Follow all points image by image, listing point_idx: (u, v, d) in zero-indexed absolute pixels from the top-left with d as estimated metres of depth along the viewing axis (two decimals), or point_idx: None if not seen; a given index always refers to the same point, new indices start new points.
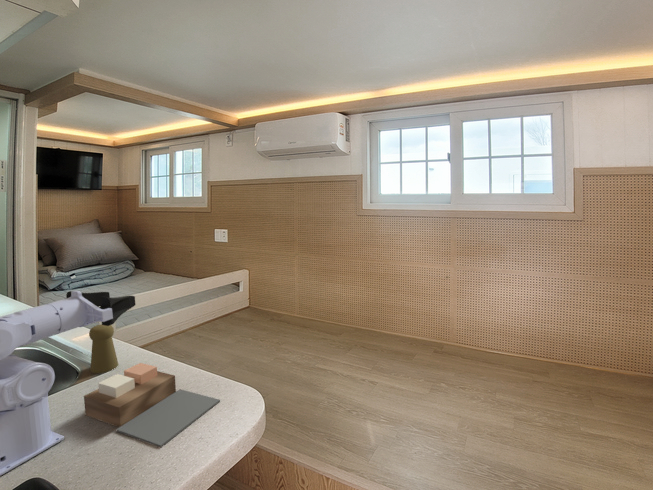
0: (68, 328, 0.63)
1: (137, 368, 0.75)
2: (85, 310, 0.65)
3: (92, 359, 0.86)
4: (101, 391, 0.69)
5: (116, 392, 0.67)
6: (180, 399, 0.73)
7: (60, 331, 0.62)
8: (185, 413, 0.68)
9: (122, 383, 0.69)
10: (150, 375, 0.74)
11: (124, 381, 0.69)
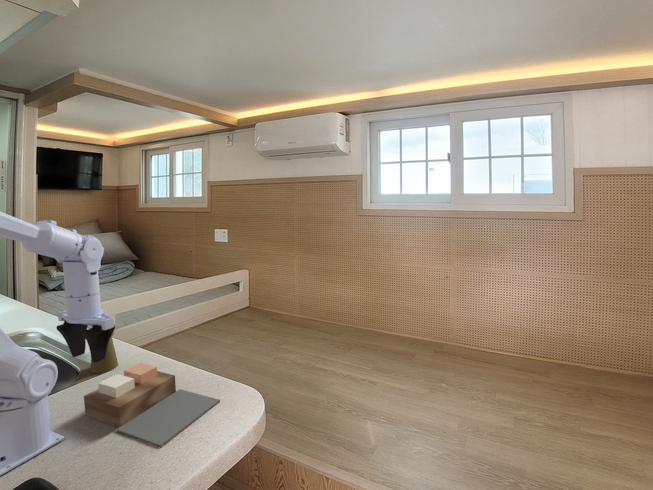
0: (80, 304, 0.69)
1: (137, 368, 0.75)
2: (97, 315, 0.71)
3: None
4: (101, 391, 0.69)
5: (116, 392, 0.67)
6: (180, 399, 0.73)
7: (79, 298, 0.68)
8: (185, 413, 0.68)
9: (122, 383, 0.69)
10: (150, 375, 0.74)
11: (124, 381, 0.69)
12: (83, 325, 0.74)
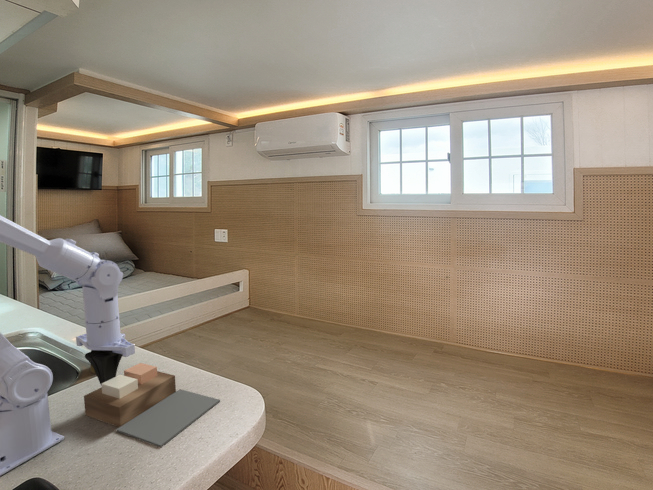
0: (100, 330, 0.67)
1: (137, 368, 0.75)
2: (117, 340, 0.70)
3: None
4: (104, 392, 0.69)
5: (119, 392, 0.67)
6: (180, 399, 0.73)
7: (99, 324, 0.67)
8: (185, 413, 0.68)
9: (126, 383, 0.69)
10: (150, 375, 0.74)
11: (128, 382, 0.69)
12: None
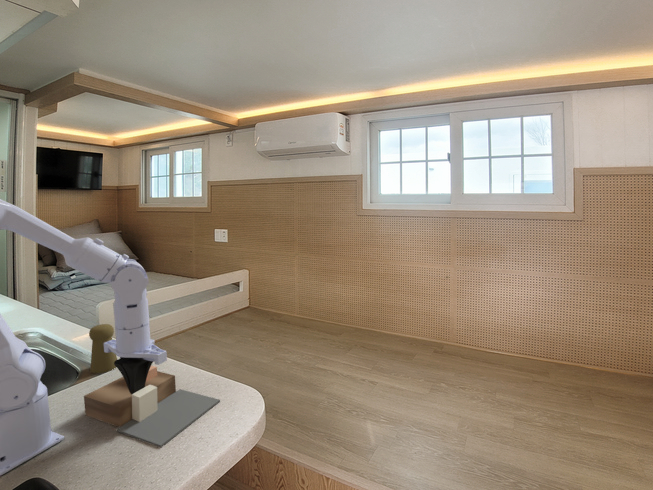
0: (131, 337, 0.64)
1: None
2: (147, 347, 0.66)
3: (92, 359, 0.86)
4: (133, 398, 0.66)
5: None
6: (180, 399, 0.73)
7: (130, 330, 0.64)
8: (185, 413, 0.68)
9: (148, 414, 0.67)
10: (150, 375, 0.74)
11: (150, 412, 0.68)
12: None
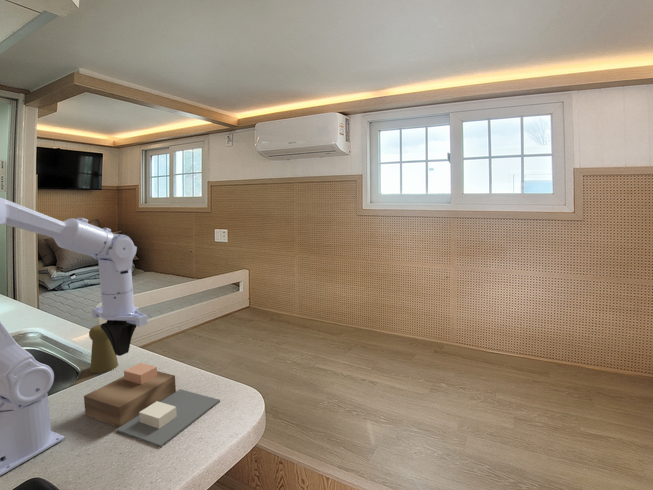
0: (115, 301, 0.70)
1: (137, 368, 0.75)
2: (130, 312, 0.73)
3: (92, 359, 0.86)
4: (155, 419, 0.64)
5: None
6: (180, 399, 0.73)
7: (114, 295, 0.70)
8: (185, 413, 0.68)
9: None
10: (150, 375, 0.74)
11: None
12: None
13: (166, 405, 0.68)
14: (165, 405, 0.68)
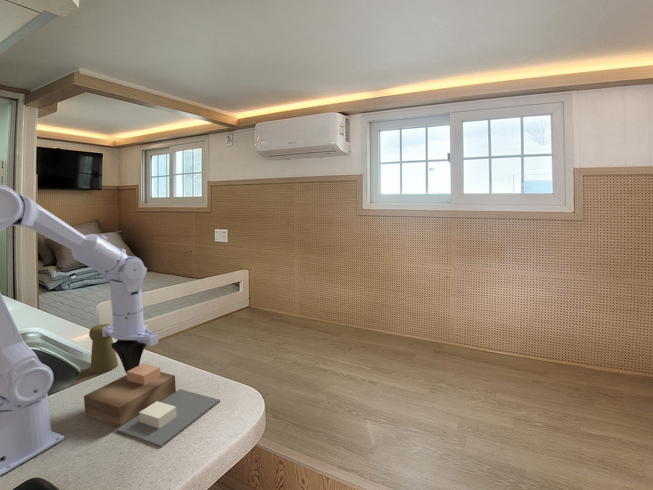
0: (127, 321, 0.72)
1: (140, 369, 0.75)
2: (141, 331, 0.75)
3: (92, 359, 0.86)
4: (155, 419, 0.64)
5: None
6: (180, 399, 0.73)
7: (125, 316, 0.72)
8: (185, 413, 0.68)
9: None
10: (153, 376, 0.74)
11: None
12: None
13: (166, 405, 0.68)
14: (165, 405, 0.68)
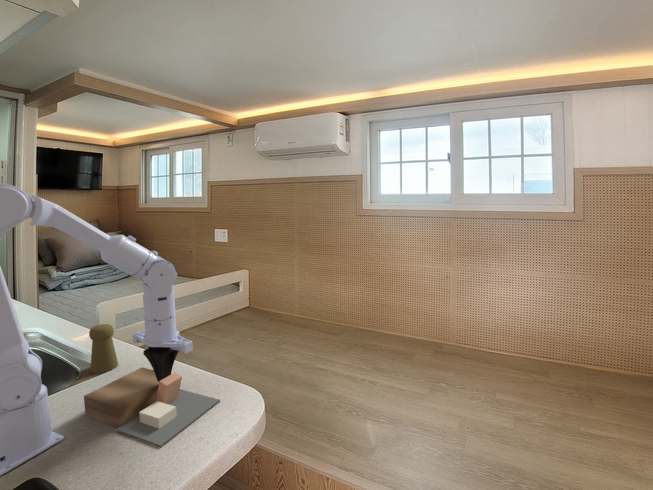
0: (160, 328, 0.69)
1: (171, 390, 0.72)
2: (174, 337, 0.71)
3: (92, 359, 0.86)
4: (155, 419, 0.64)
5: None
6: (180, 399, 0.73)
7: (159, 321, 0.68)
8: (185, 413, 0.68)
9: None
10: None
11: None
12: None
13: (166, 405, 0.68)
14: (165, 405, 0.68)
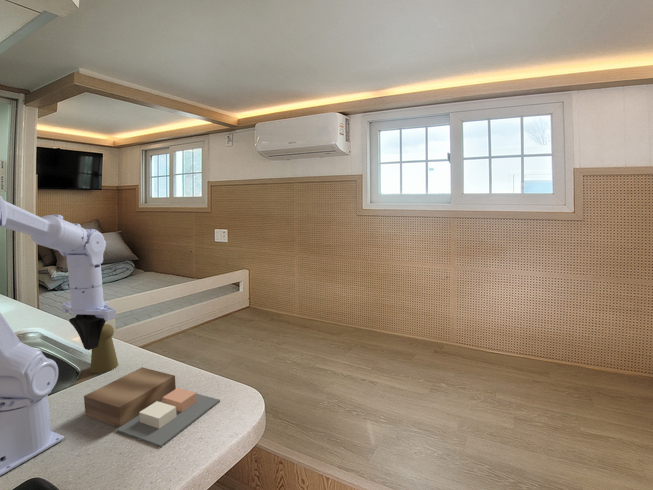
0: (84, 296, 0.71)
1: None
2: (99, 306, 0.74)
3: (92, 359, 0.86)
4: (155, 419, 0.64)
5: None
6: None
7: (82, 289, 0.71)
8: (185, 413, 0.68)
9: None
10: None
11: None
12: None
13: (166, 405, 0.68)
14: (165, 405, 0.68)
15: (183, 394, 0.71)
